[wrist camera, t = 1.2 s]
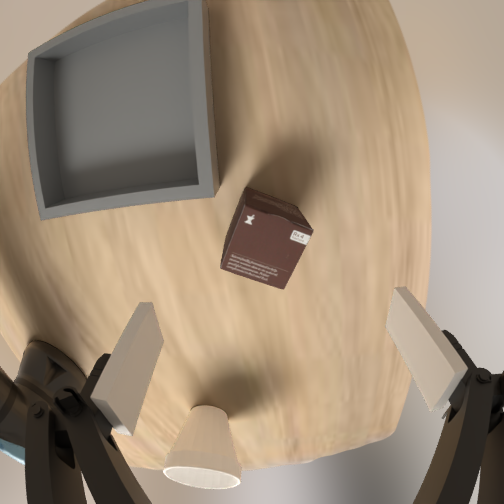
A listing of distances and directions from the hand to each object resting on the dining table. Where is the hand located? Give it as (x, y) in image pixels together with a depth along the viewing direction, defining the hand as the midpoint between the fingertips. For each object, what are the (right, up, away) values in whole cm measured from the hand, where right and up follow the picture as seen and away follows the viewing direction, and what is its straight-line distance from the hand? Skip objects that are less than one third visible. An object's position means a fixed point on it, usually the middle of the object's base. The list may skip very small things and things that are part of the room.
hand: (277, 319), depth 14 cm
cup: (-9, -26, +29) cm, 40 cm away
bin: (-15, +19, +9) cm, 26 cm away
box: (0, +7, +15) cm, 16 cm away
